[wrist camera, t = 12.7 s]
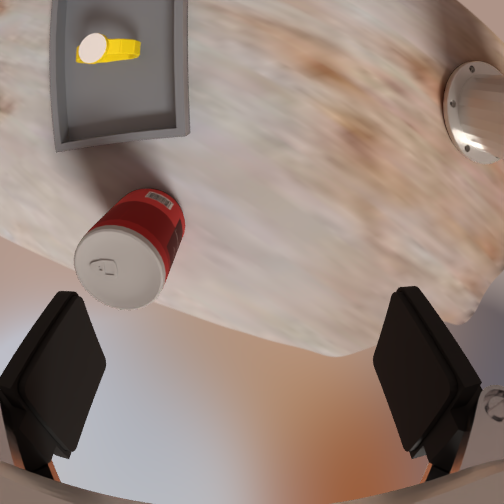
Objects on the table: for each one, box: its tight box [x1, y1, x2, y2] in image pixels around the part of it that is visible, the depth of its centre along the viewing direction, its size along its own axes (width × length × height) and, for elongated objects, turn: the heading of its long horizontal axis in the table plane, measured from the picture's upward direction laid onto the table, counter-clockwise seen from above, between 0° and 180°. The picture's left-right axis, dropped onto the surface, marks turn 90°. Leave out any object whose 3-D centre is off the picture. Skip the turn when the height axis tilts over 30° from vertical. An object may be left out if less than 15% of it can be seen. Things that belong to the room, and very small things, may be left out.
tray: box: [50, 0, 190, 153], centre depth 24 cm, size 14×18×2 cm
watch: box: [76, 33, 141, 64], centre depth 22 cm, size 6×3×6 cm, turn 87°
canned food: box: [74, 189, 185, 310], centre depth 28 cm, size 8×8×11 cm
